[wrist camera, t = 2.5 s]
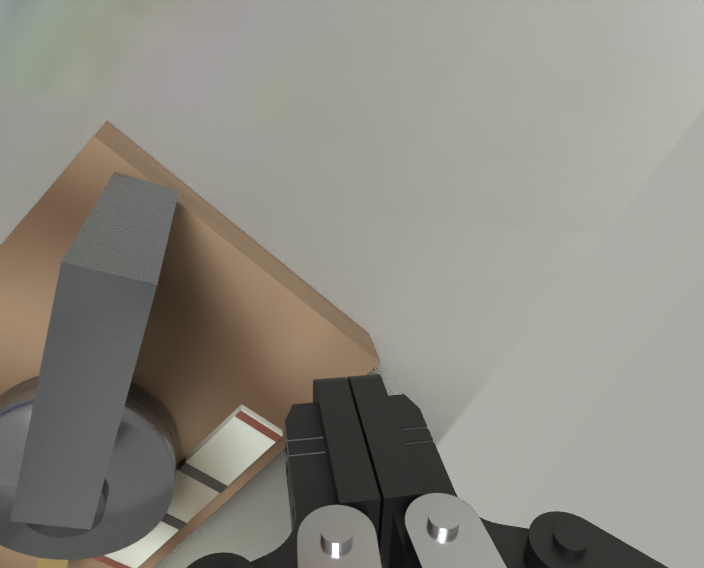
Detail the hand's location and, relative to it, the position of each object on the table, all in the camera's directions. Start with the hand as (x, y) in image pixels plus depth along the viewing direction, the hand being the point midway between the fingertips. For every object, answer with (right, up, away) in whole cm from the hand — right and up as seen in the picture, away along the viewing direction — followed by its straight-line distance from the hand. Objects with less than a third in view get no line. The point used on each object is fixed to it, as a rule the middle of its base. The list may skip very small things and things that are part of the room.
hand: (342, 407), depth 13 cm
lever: (-8, -1, +6) cm, 10 cm away
